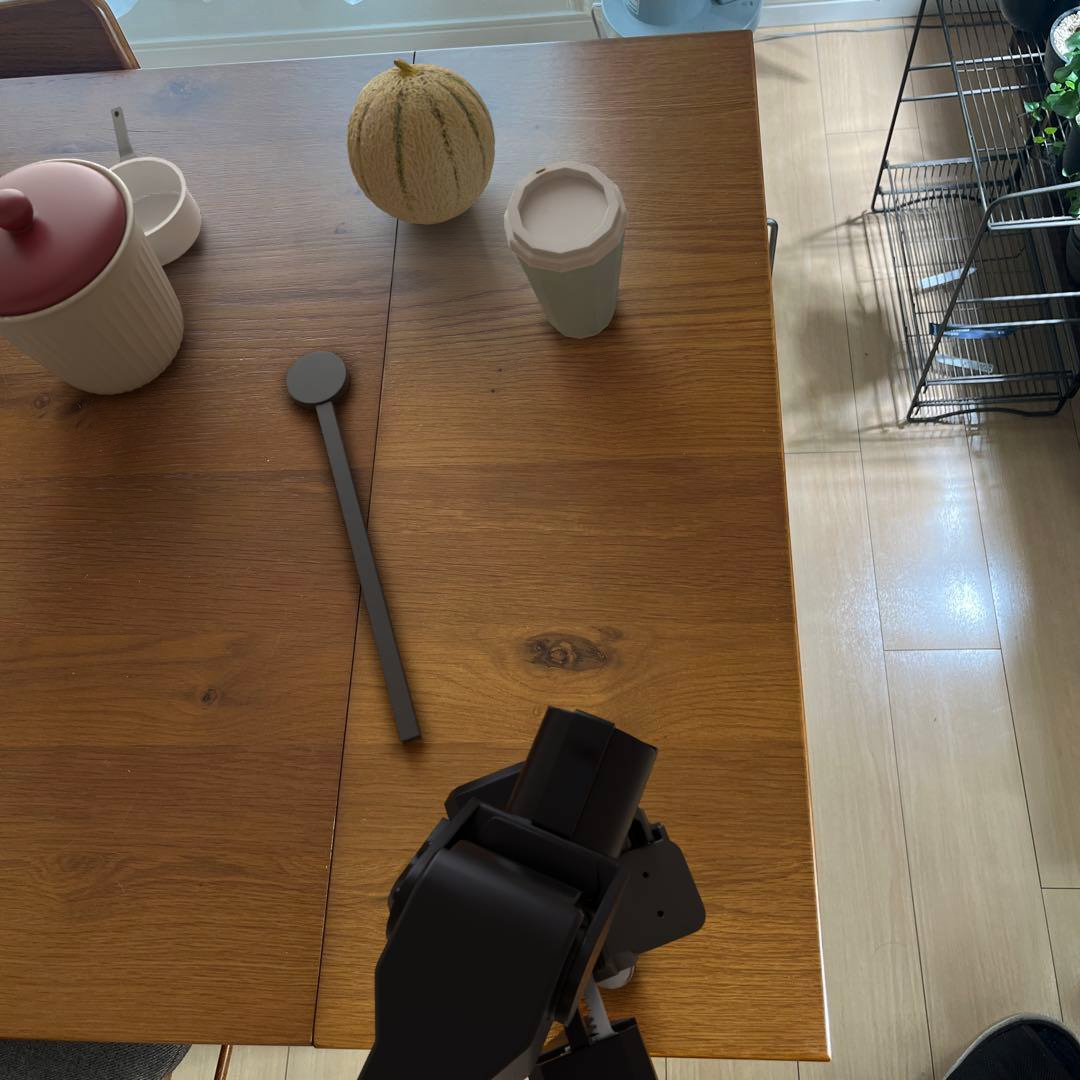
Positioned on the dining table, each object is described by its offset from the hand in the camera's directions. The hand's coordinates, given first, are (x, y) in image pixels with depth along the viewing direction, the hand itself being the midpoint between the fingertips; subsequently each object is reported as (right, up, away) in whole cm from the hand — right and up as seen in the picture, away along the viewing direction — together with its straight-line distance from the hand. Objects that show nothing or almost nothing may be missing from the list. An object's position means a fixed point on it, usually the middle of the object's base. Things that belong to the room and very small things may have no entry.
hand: (563, 940), depth 60 cm
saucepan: (-44, +62, +46) cm, 89 cm away
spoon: (-18, +26, +26) cm, 41 cm away
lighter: (+2, -5, +10) cm, 11 cm away
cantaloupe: (-12, +61, +42) cm, 75 cm away
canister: (-44, +45, +38) cm, 73 cm away
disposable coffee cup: (+2, +47, +33) cm, 58 cm away
